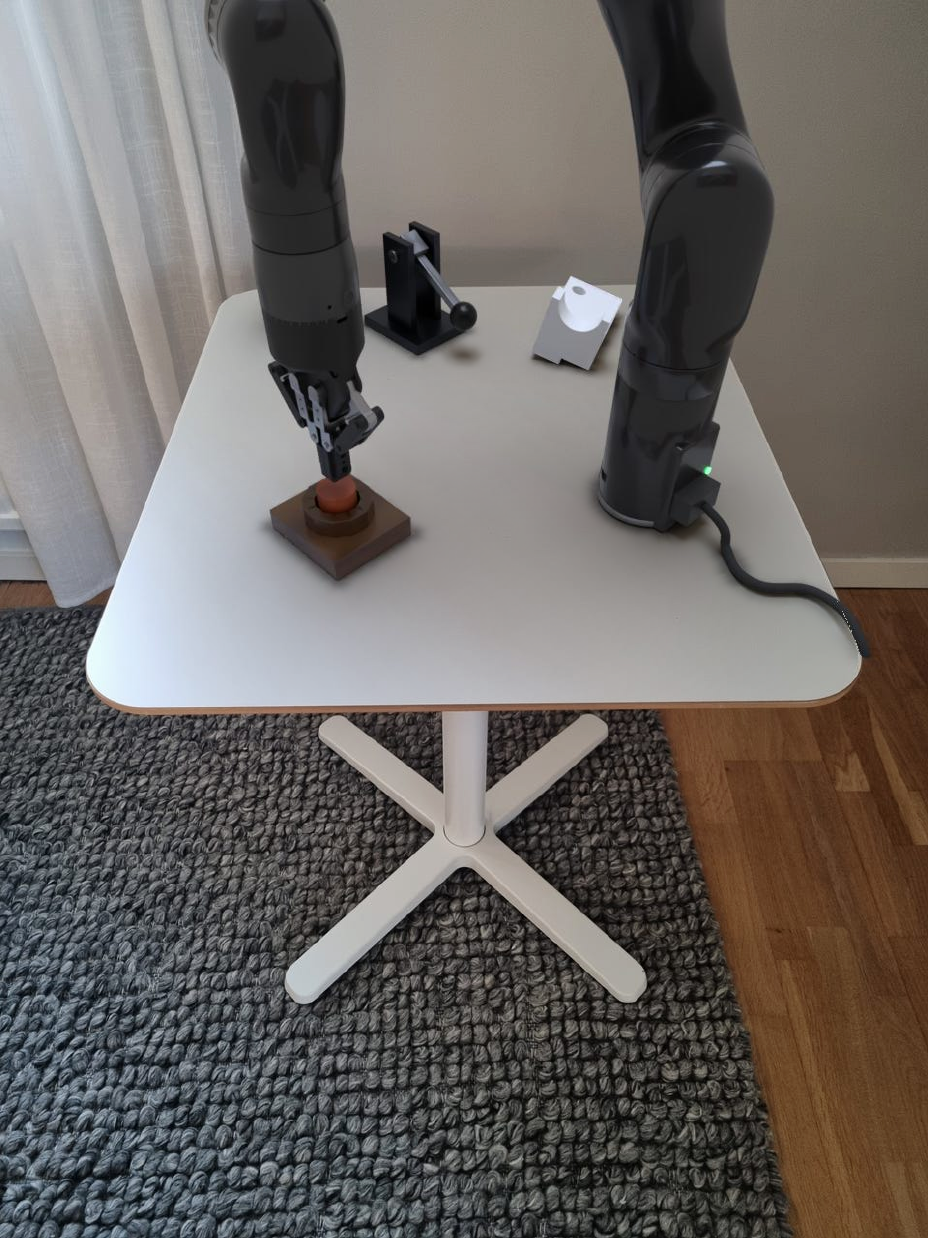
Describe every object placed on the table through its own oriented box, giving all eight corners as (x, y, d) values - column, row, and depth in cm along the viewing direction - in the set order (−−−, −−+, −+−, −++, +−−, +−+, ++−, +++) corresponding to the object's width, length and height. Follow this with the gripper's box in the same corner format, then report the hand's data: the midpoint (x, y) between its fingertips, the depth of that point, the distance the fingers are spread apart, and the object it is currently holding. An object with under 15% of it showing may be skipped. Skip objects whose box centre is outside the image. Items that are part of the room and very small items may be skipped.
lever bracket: (465, 331, 108) (466, 236, 99) (417, 355, 104) (414, 259, 95) (412, 301, 113) (408, 208, 104) (364, 323, 109) (356, 229, 100)
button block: (411, 534, 83) (409, 502, 80) (337, 580, 79) (332, 548, 76) (345, 485, 88) (341, 453, 85) (272, 527, 84) (265, 494, 81)
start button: (365, 502, 81) (363, 487, 79) (334, 520, 79) (332, 505, 78) (340, 484, 82) (339, 469, 81) (310, 501, 81) (308, 486, 79)
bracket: (585, 376, 103) (609, 323, 97) (531, 351, 103) (552, 296, 97) (611, 323, 111) (635, 270, 105) (561, 300, 111) (582, 246, 105)
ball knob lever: (476, 330, 103) (486, 313, 100) (456, 340, 101) (466, 323, 98) (410, 244, 103) (418, 225, 100) (390, 252, 102) (398, 233, 99)
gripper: (217, 279, 67) (259, 461, 79) (325, 344, 60) (351, 530, 73) (295, 247, 70) (323, 426, 83) (405, 305, 64) (417, 489, 77)
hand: (336, 475), depth 78 cm, fingers closed
